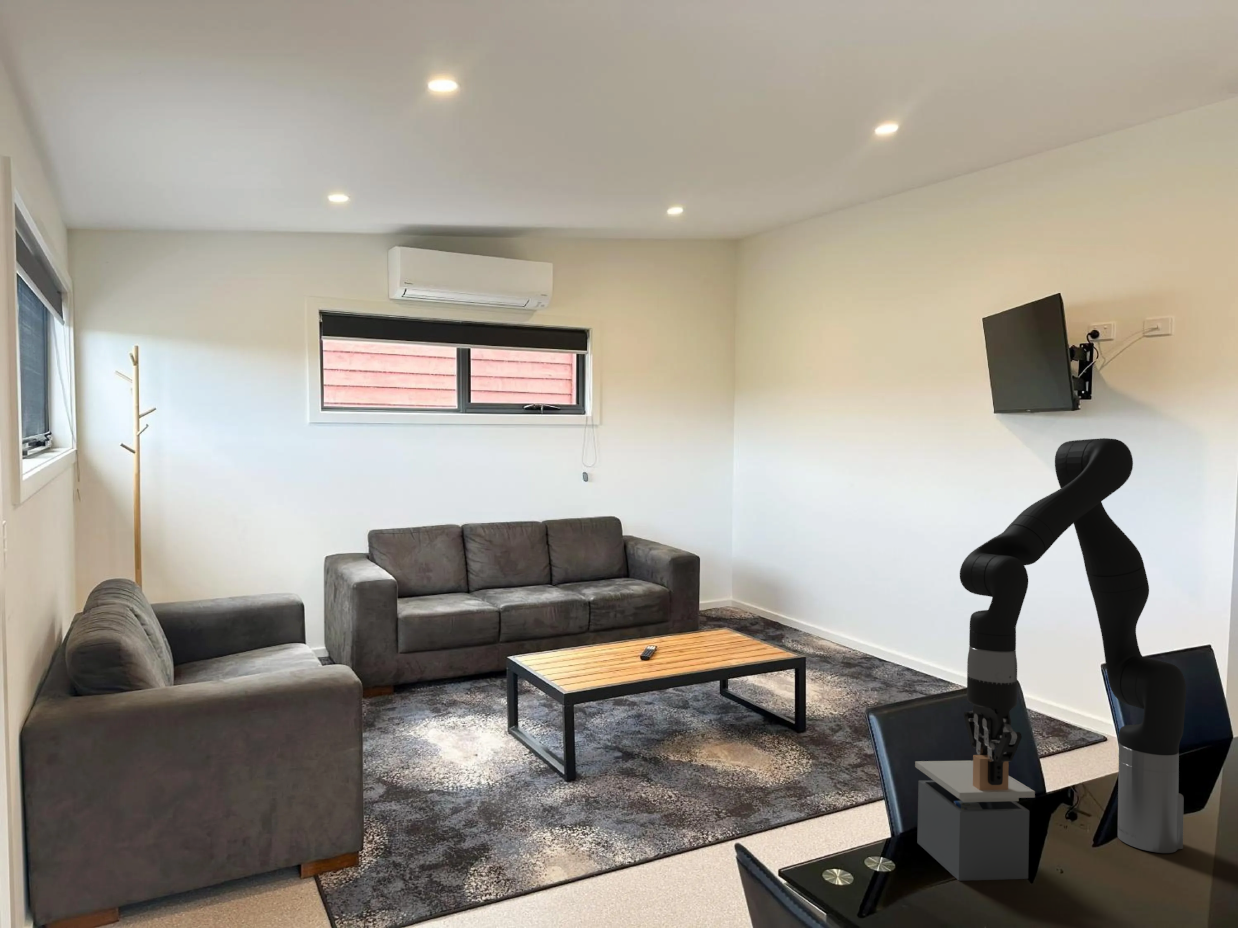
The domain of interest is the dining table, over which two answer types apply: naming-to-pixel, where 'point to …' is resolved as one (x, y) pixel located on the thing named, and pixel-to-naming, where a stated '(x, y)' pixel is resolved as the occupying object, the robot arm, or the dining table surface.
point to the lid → (974, 780)
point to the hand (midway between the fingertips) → (990, 780)
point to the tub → (973, 835)
